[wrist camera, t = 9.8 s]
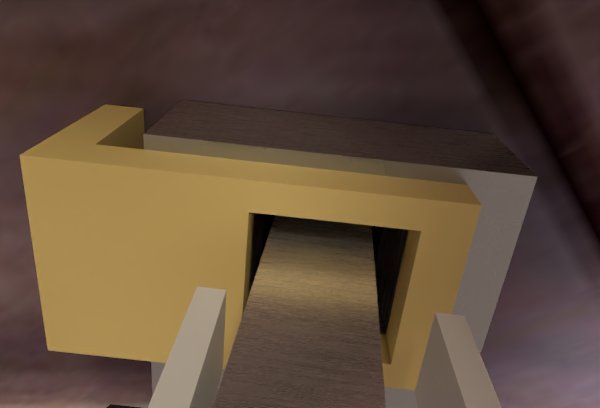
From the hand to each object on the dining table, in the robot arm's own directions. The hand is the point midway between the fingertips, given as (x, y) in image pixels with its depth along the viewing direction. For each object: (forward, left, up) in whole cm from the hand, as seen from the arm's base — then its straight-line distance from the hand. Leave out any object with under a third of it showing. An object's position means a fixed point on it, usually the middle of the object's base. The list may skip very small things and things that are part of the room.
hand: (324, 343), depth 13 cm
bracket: (0, -2, -8) cm, 9 cm away
